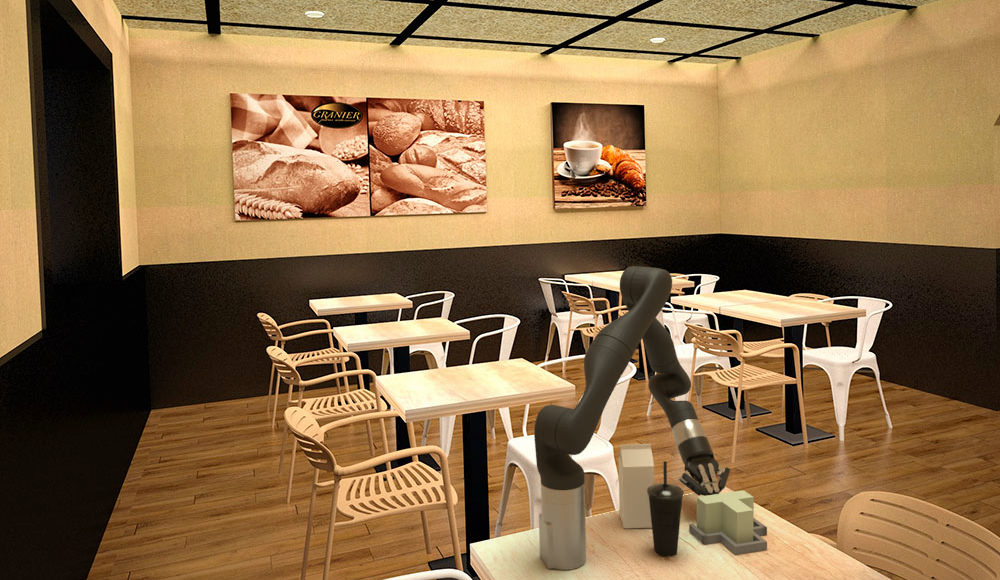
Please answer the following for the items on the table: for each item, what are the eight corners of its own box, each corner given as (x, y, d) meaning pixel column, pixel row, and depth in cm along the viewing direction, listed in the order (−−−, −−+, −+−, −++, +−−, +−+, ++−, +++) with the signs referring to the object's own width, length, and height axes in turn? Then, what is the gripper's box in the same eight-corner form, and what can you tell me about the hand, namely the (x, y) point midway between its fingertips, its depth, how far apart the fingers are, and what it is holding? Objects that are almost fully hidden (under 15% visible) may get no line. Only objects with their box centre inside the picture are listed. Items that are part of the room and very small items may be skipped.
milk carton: (654, 528, 165) (654, 449, 162) (623, 529, 165) (622, 450, 163) (648, 515, 172) (648, 439, 169) (619, 515, 172) (618, 439, 170)
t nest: (718, 557, 150) (718, 549, 150) (689, 531, 162) (689, 524, 162) (783, 547, 154) (783, 539, 154) (750, 522, 166) (750, 515, 166)
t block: (720, 550, 153) (720, 515, 152) (696, 530, 163) (696, 496, 162) (769, 542, 156) (769, 507, 155) (743, 523, 166) (743, 490, 165)
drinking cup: (684, 544, 156) (683, 456, 154) (683, 561, 149) (683, 469, 147) (648, 541, 158) (648, 454, 156) (646, 558, 151) (645, 467, 149)
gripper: (672, 438, 170) (698, 507, 160) (722, 432, 173) (750, 500, 163) (662, 452, 176) (686, 520, 166) (710, 446, 179) (737, 512, 169)
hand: (718, 510), depth 164 cm, fingers closed
